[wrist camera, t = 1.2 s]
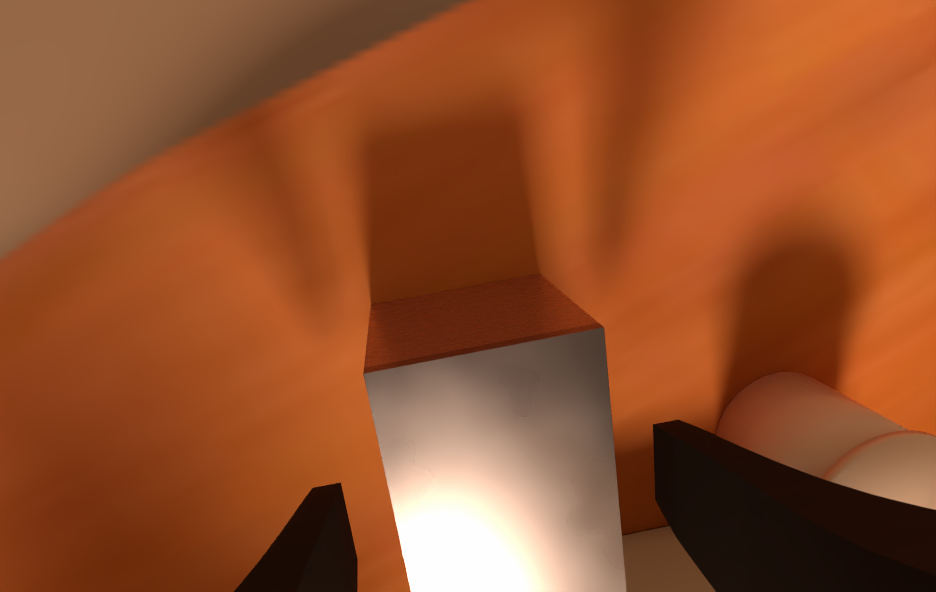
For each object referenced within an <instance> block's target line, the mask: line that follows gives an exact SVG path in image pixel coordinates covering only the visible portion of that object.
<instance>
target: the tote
mask: <svg viewBox="0 0 936 592" xmlns="http://www.w3.org/2000/svg"><path fill="white" fill-rule="evenodd" d="M622 544H623V556H624V568H625V579H626V591H627V592H716V591H715V590H714V589H713V587H712V586H711V585H710V583H709V582H708V581H707V579H706V578H705V577H704V575H703V574H702V573H701V571H700V570H699V568H698V567H697V566H696V564H695V563H694V562H693V560H692V559H691V558H690V556H689V555H688V553H687V552H686V551H685V549H684V548H683V547H682V545H681V544H680V542H679V541H678V539H677V538H676V536H675V534H674V533H673V531H672V529H671V528H670V526H666V527H662V528H657V529H652V530H647V531H642V532H637V533H633V534H628V535H623V536H622Z"/></svg>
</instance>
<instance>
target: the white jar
mask: <svg viewBox="0 0 936 592" xmlns="http://www.w3.org/2000/svg"><path fill="white" fill-rule="evenodd" d="M716 436H719V437H721V438H723V439H725V440H728V441H730V442H732V443H734V444H737V445H739V446H741V447H743V448H746V449H748V450H750V451H753V452H755V453H757V454H760V455H762V456H764V457H767V458H769V459H772V460H774V461H776V462H779V463H781V464H784V465H787V466H789V467H792V468H794V469H797V470H800V471H802V472H805V473H808V474H810V475H813V476H816V477H819V478H822V479H825V480H827V481H830V482H834V483H837V484H840V485H843V486H847V487H850V488H853V489H856V490H859V491H863V492H866V493H870V494H873V495H877V496H881V497H884V498H888V499H892V500H896V501H900V502H905V503H909V504H913V505H917V506H921V507H925V508H930V509H934V510H936V436H935V435H933V434H929V433H926V432H921V431H914V430H907V429H906V428H904V427H902V426H900V425H898V424H896V423H895V422H893V421H891V420H889V419H887V418H885V417H884V416H882V415H880V414H878V413H876V412H874V411H873V410H871V409H869V408H867V407H865V406H863V405H862V404H860V403H858V402H856V401H854V400H852V399H851V398H849V397H847V396H845V395H843V394H841V393H840V392H838V391H836V390H834V389H832V388H830V387H829V386H827V385H825V384H823V383H821V382H819V381H818V380H816V379H814V378H812V377H810V376H808V375H805V374H802V373H798V372H777V373H773V374H769V375H766V376H764V377H761V378H759V379H757V380H755V381H753V382H752V383H750V384H749V385H747V386H746V387H745V388H743V389H742V390H741V391H740V392H739V393H738V394H737V395H736V396H735V397H734V398H733V399H732V400H731V402H730V403H729V404H728V406H727V407H726V409H725V410H724V412H723V414H722V416H721V418H720V421H719V424H718V427H717V431H716Z"/></svg>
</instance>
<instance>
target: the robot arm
mask: <svg viewBox="0 0 936 592" xmlns="http://www.w3.org/2000/svg"><path fill="white" fill-rule="evenodd" d="M653 438H654V470H655V500H656V502H657V504H658V506H659V507H660V509H661V511H662V513H663V515H664V517H665V519H666V521H667V522H668V524H669V526H670V528H671V529H672V531H673V533H674V534H675V536H676V538H677V539H678V541H679V542H680V544H681V545H682V547H683V548H684V549H685V551H686V552H687V553H688V555H689V556H690V558H691V559H692V560H693V562H694V563H695V564H696V566H697V567H698V568H699V570H700V571H701V573H702V574H703V575H704V577H705V578H706V579H707V581H708V582H709V583H710V585H711V586H712V587H713V589H714V590H715V591H716V592H936V510H934V509H930V508H925V507H921V506H917V505H913V504H909V503H905V502H900V501H896V500H892V499H888V498H884V497H881V496H877V495H873V494H870V493H866V492H863V491H859V490H856V489H853V488H850V487H847V486H843V485H840V484H837V483H834V482H830V481H827V480H825V479H822V478H819V477H816V476H813V475H810V474H808V473H805V472H802V471H800V470H797V469H794V468H792V467H789V466H787V465H784V464H781V463H779V462H776V461H774V460H772V459H769V458H767V457H764V456H762V455H760V454H757V453H755V452H753V451H750V450H748V449H746V448H743V447H741V446H739V445H737V444H734V443H732V442H730V441H728V440H725V439H723V438H721V437H719V436H716V435H714V434H712V433H710V432H707V431H705V430H703V429H700V428H698V427H696V426H693V425H691V424H688V423H686V422H683V421H680V420H675V421H669V422H664V423H658V424H653ZM234 592H357V555H356V551H355V546H354V542H353V537H352V532H351V528H350V523H349V519H348V514H347V509H346V505H345V500H344V496H343V491H342V486H341V483H336V484H331V485H326V486H320V487H315V488H312V490H311V491H310V492H309V493H308V495H307V496H306V498H305V499H304V500H303V502H302V503H301V505H300V506H299V508H298V509H297V510H296V512H295V513H294V515H293V516H292V518H291V519H290V520H289V522H288V523H287V525H286V526H285V527H284V529H283V530H282V532H281V533H280V534H279V536H278V537H277V538H276V540H275V541H274V542H273V544H272V545H271V546H270V548H269V549H268V550H267V552H266V553H265V554H264V556H263V557H262V558H261V560H260V561H259V562H258V563H257V565H256V566H255V567H254V568H253V569H252V571H251V572H250V573H249V574H248V575H247V577H246V578H245V579H244V580H243V582H242V583H241V584H240V585H239V586H238V588H237V589H236V590H235V591H234Z"/></svg>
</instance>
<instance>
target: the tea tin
mask: <svg viewBox="0 0 936 592" xmlns="http://www.w3.org/2000/svg"><path fill="white" fill-rule="evenodd" d="M363 374H364V379H365V383H366V388H367V393H368V397H369V402H370V406H371V411H372V415H373V420H374V424H375V429H376V434H377V438H378V443H379V447H380V452H381V456H382V461H383V465H384V470H385V475H386V479H387V484H388V488H389V493H390V497H391V502H392V506H393V511H394V515H395V520H396V525H397V529H398V534H399V538H400V543H401V547H402V552H403V556H404V561H405V566H406V570H407V575H408V579H409V584H410V588H411V592H627V591H626V579H625V568H624V556H623V544H622V533H621V521H620V509H619V497H618V486H617V474H616V462H615V451H614V439H613V427H612V415H611V404H610V392H609V380H608V369H607V357H606V345H605V333H604V327H603V326H602V325H601V324H599V323H598V322H597V321H596V320H595V319H593V318H592V317H591V316H590V315H589V314H587V313H586V312H585V311H584V310H583V309H581V308H580V307H579V306H578V305H577V304H575V303H574V302H573V301H572V300H571V299H569V298H568V297H567V296H566V295H565V294H563V293H562V292H561V291H560V290H559V289H557V288H556V287H555V286H554V285H553V284H551V283H550V282H549V281H548V280H547V279H545V278H544V277H543V276H542V275H541V274H537V275H531V276H526V277H520V278H515V279H509V280H504V281H498V282H493V283H487V284H482V285H476V286H471V287H465V288H460V289H454V290H449V291H443V292H438V293H432V294H427V295H421V296H416V297H410V298H405V299H399V300H394V301H388V302H383V303H377V304H372V305H371V309H370V318H369V327H368V336H367V345H366V355H365V364H364V373H363Z"/></svg>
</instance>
